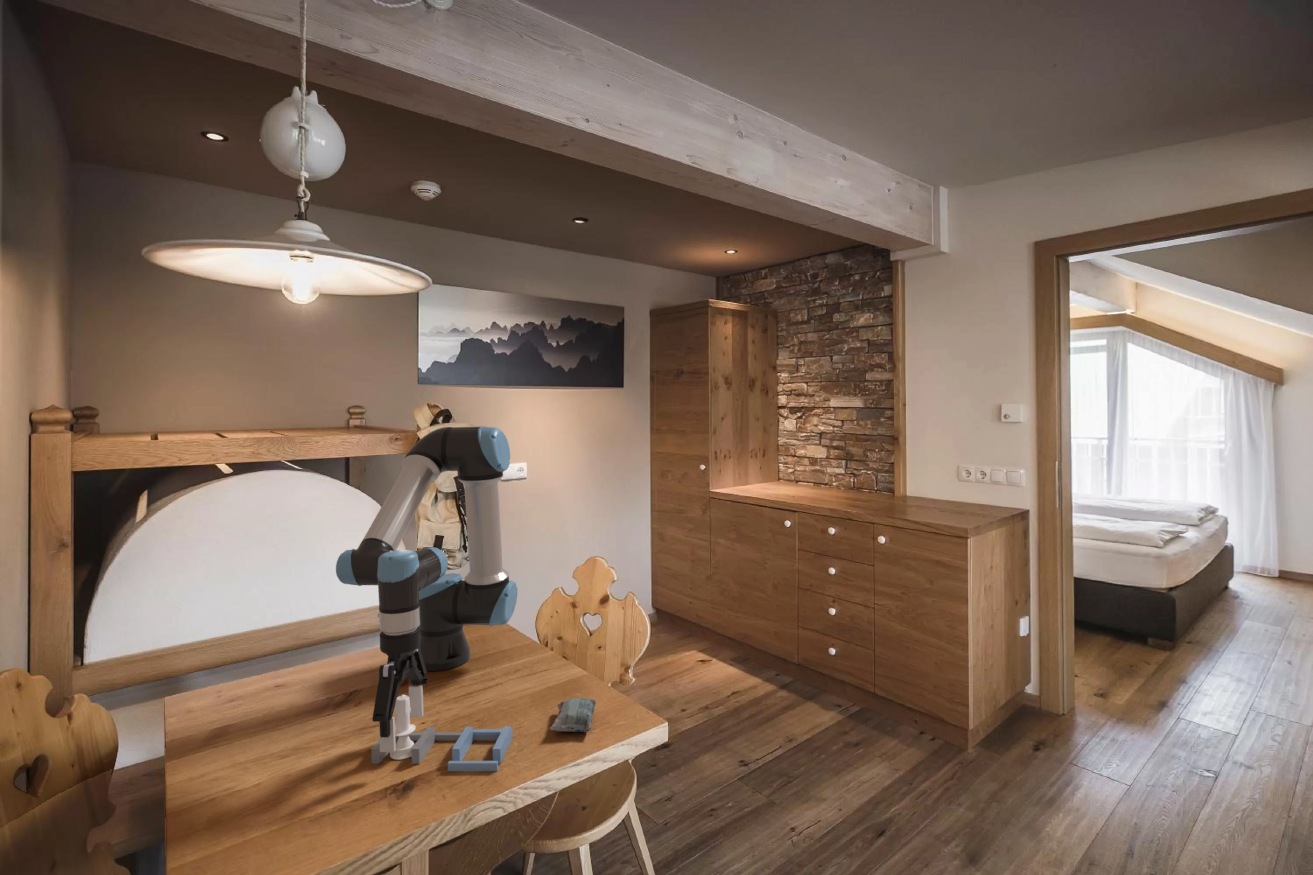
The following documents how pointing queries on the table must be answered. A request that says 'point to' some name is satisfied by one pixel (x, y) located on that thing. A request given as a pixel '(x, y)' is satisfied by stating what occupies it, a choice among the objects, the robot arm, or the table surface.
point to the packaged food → (574, 715)
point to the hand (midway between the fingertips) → (402, 732)
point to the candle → (403, 729)
